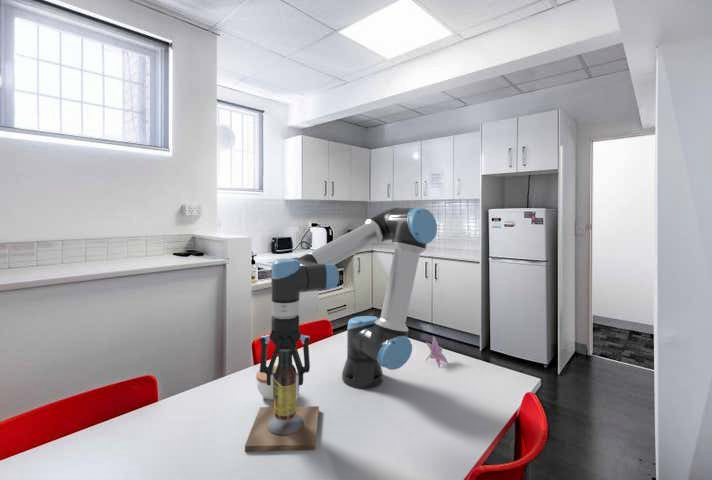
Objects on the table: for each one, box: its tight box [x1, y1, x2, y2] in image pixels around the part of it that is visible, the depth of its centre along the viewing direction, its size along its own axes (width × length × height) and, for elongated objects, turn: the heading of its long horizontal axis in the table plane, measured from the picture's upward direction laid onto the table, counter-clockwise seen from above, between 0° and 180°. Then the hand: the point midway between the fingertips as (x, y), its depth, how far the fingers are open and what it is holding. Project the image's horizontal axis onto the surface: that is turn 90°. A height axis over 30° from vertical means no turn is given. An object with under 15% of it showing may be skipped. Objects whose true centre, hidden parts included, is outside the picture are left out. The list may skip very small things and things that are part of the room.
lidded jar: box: [255, 365, 278, 401], centre depth 118 cm, size 11×11×9 cm
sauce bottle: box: [273, 349, 297, 420], centre depth 99 cm, size 7×6×20 cm
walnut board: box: [244, 405, 320, 452], centre depth 100 cm, size 18×18×2 cm
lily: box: [425, 335, 448, 369], centre depth 146 cm, size 12×12×10 cm
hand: (285, 395), depth 99 cm, fingers closed on sauce bottle, 6 cm apart
